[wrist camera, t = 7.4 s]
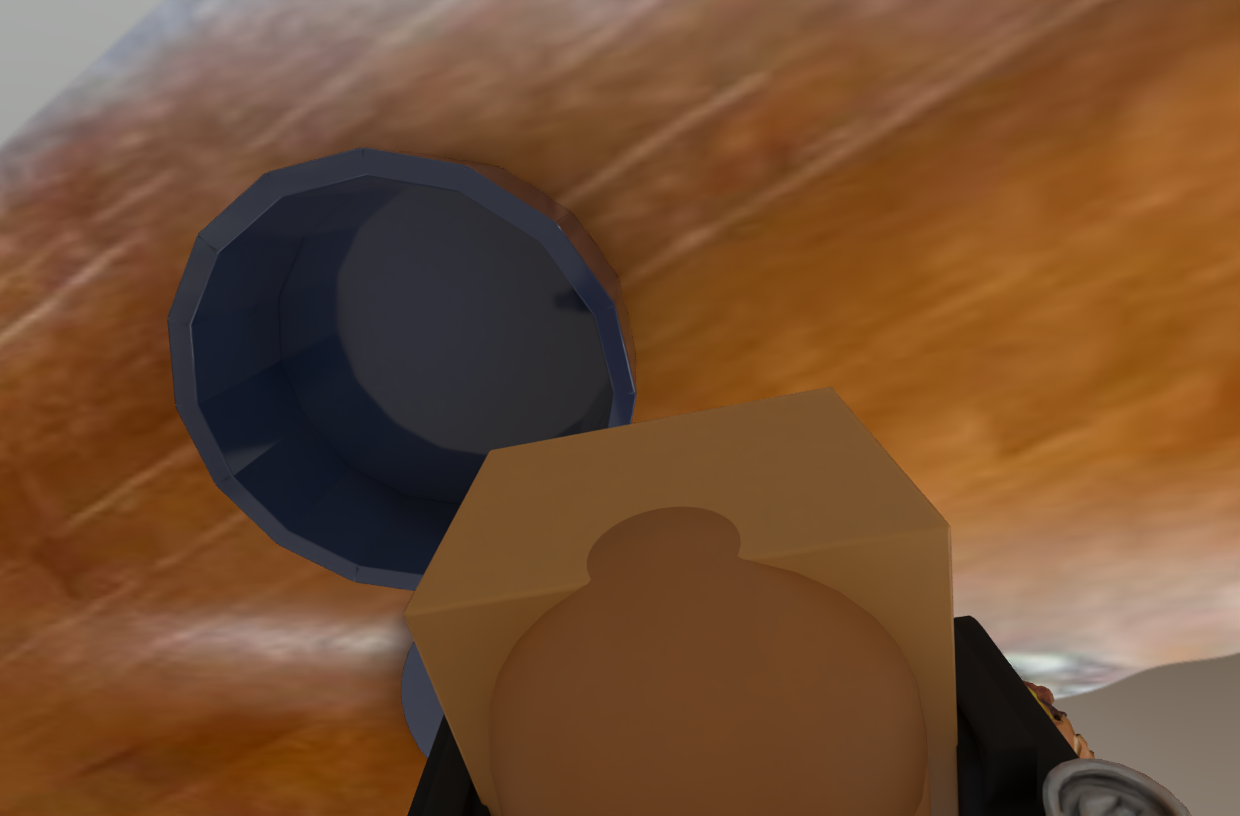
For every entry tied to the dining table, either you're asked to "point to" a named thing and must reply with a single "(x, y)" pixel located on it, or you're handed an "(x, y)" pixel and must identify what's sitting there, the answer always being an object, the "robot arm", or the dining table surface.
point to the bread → (698, 622)
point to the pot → (389, 348)
